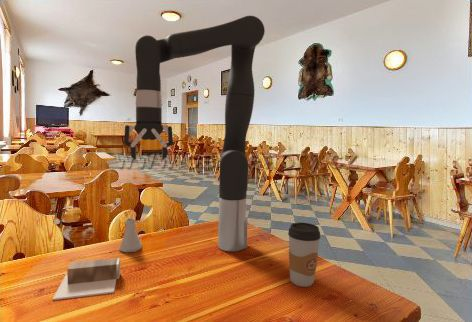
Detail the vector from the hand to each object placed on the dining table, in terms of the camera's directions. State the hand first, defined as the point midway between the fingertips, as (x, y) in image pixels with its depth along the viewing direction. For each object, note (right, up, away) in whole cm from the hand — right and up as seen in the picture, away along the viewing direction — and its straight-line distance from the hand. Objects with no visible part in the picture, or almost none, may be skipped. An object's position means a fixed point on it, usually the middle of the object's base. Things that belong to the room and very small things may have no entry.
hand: (149, 159), depth 92 cm
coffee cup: (+45, -33, -12) cm, 57 cm away
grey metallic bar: (-4, -29, -13) cm, 32 cm away
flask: (-8, -30, +6) cm, 31 cm away
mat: (-11, -32, -14) cm, 36 cm away
